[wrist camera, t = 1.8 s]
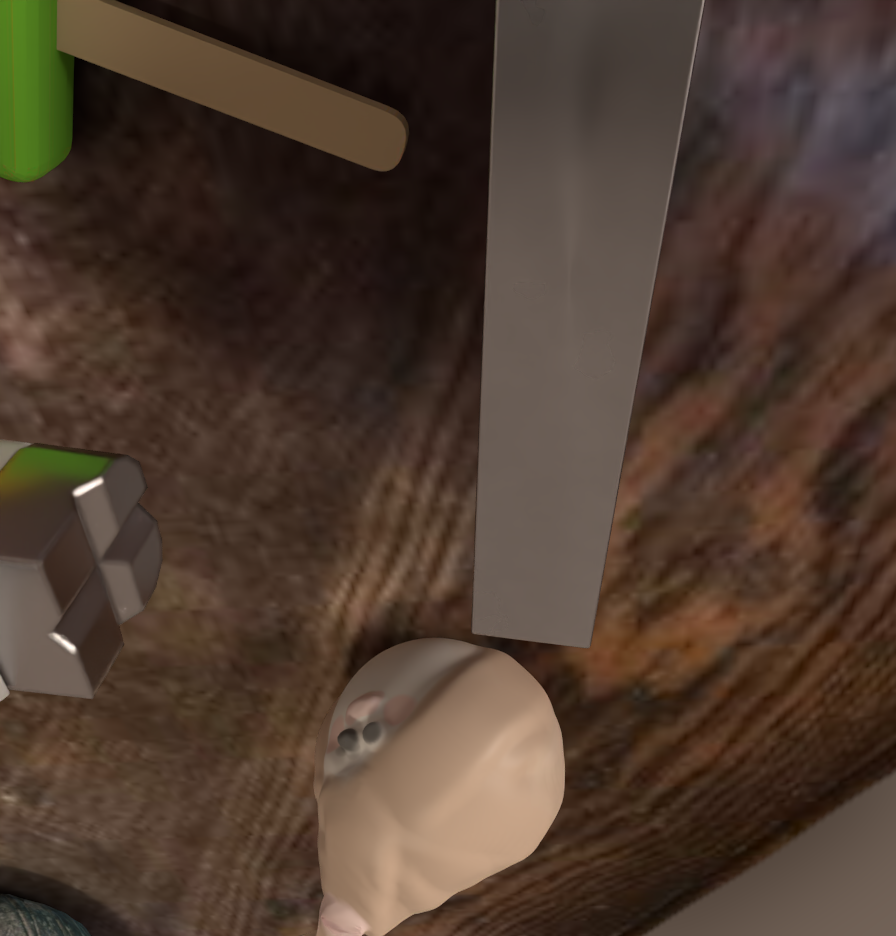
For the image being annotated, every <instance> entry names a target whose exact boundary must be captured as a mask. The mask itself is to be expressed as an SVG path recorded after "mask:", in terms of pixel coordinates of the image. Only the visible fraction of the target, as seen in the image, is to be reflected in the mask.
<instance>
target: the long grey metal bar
mask: <svg viewBox="0 0 896 936" xmlns="http://www.w3.org/2000/svg"><path fill="white" fill-rule="evenodd" d="M705 1H706V0H495V19H494V45H493V71H492V97H491V123H490V149H489V175H488V201H487V227H486V253H485V279H484V305H483V331H482V357H481V383H480V409H479V435H478V461H477V487H476V513H475V539H474V565H473V591H472V618H471V632H472V633H473V634H478V635H486V636H494V637H502V638H510V639H518V640H526V641H534V642H542V643H549V644H557V645H565V646H573V647H581V648H589V647H590V646H591V641H592V635H593V629H594V624H595V618H596V612H597V607H598V601H599V596H600V590H601V584H602V579H603V573H604V568H605V562H606V556H607V551H608V545H609V540H610V534H611V528H612V523H613V517H614V511H615V506H616V500H617V495H618V489H619V483H620V478H621V472H622V467H623V461H624V455H625V450H626V444H627V439H628V433H629V427H630V422H631V416H632V410H633V405H634V399H635V394H636V388H637V382H638V377H639V371H640V366H641V360H642V354H643V349H644V343H645V338H646V332H647V326H648V321H649V315H650V309H651V304H652V298H653V293H654V287H655V281H656V276H657V270H658V265H659V259H660V253H661V248H662V242H663V237H664V231H665V225H666V220H667V214H668V208H669V203H670V197H671V192H672V186H673V180H674V175H675V169H676V164H677V158H678V152H679V147H680V141H681V136H682V130H683V124H684V119H685V113H686V107H687V102H688V96H689V91H690V85H691V79H692V74H693V68H694V63H695V57H696V51H697V46H698V40H699V35H700V29H701V23H702V18H703V12H704V6H705Z"/></svg>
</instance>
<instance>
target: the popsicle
mask: <svg viewBox="0 0 896 936" xmlns="http://www.w3.org/2000/svg"><path fill="white" fill-rule="evenodd" d="M74 56H75V57H78V58H81V59H83V60H86V61H88V62H91V63H94V64H96V65H99V66H102V67H104V68H107V69H109V70H112V71H115V72H117V73H120V74H123V75H125V76H128V77H131V78H133V79H136V80H138V81H141V82H144V83H146V84H149V85H152V86H154V87H157V88H159V89H162V90H165V91H167V92H170V93H173V94H175V95H178V96H181V97H183V98H186V99H188V100H191V101H194V102H196V103H199V104H202V105H204V106H207V107H210V108H212V109H215V110H217V111H220V112H223V113H225V114H228V115H231V116H233V117H236V118H238V119H241V120H244V121H246V122H249V123H252V124H254V125H257V126H260V127H262V128H265V129H267V130H270V131H273V132H275V133H278V134H281V135H283V136H286V137H288V138H291V139H294V140H296V141H299V142H302V143H304V144H307V145H310V146H312V147H315V148H317V149H320V150H323V151H325V152H328V153H331V154H333V155H336V156H338V157H341V158H344V159H346V160H349V161H352V162H354V163H357V164H360V165H362V166H365V167H367V168H370V169H373V170H377V171H389V170H391V169H393V168H395V166H396V165H397V164H398V163H399V161H400V160H401V158H402V156H403V153H404V151H405V149H406V145H407V142H408V136H409V127H408V123H407V121H406V119H405V117H404V116H403V115H402V114H401V113H400V112H399V111H397V110H395V109H393V108H391V107H389V106H387V105H384V104H382V103H379V102H376V101H374V100H371V99H369V98H366V97H363V96H361V95H358V94H356V93H353V92H351V91H348V90H345V89H343V88H340V87H338V86H335V85H332V84H330V83H327V82H325V81H322V80H320V79H317V78H314V77H312V76H309V75H307V74H304V73H301V72H299V71H296V70H294V69H291V68H289V67H286V66H283V65H281V64H278V63H276V62H273V61H270V60H268V59H265V58H263V57H260V56H258V55H255V54H252V53H250V52H247V51H245V50H242V49H239V48H237V47H234V46H232V45H229V44H227V43H224V42H221V41H219V40H216V39H214V38H211V37H208V36H206V35H203V34H201V33H198V32H196V31H193V30H190V29H188V28H185V27H183V26H180V25H177V24H175V23H172V22H170V21H167V20H165V19H162V18H159V17H157V16H154V15H152V14H149V13H146V12H144V11H141V10H139V9H136V8H134V7H131V6H128V5H126V4H123V3H121V2H118V1H115V0H0V177H2V178H5V179H8V180H11V181H16V182H31V181H34V180H36V179H38V178H41V177H43V176H44V175H45V174H47V173H48V172H50V171H51V170H52V169H54V168H55V167H56V166H58V165H59V164H60V163H61V162H62V161H64V160H65V158H66V157H67V155H68V154H69V152H70V149H71V145H72V130H73V89H74Z"/></svg>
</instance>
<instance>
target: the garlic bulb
mask: <svg viewBox="0 0 896 936" xmlns="http://www.w3.org/2000/svg"><path fill="white" fill-rule="evenodd" d="M564 784H565V763H564V754H563V742H562V734H561V730H560V727H559V724H558V721H557V718H556V716H555V714H554V711H553V708H552V705H551V702H550V700H549V698H548V696H547V694H546V692H545V691H544V689H543V688H542V686H541V685H540V684H539V683H538V682H537V681H536V679H535V678H534V677H533V676H532V675H531V674H530V673H529V672H528V671H527V670H525V669H524V668H523V667H522V666H521V665H520V664H519V663H518V662H517V661H515V660H514V659H513V658H512V657H510V656H509V655H507V654H506V653H504V652H501V651H499V650H495V649H492V648H487V647H482V646H478V645H473V644H470V643H467V642H464V641H460V640H455V639H448V638H422V639H416V640H411V641H407V642H404V643H401V644H398V645H396V646H393V647H391V648H389V649H387V650H385V651H383V652H381V653H380V654H378V655H376V656H375V657H373V658H372V659H371V660H370V661H368V662H367V663H366V664H365V665H364V666H363V667H362V668H361V669H360V670H359V671H358V672H357V673H356V674H355V675H354V676H353V678H352V679H351V680H350V682H349V683H348V684H347V686H346V688H345V689H344V691H343V693H342V694H341V695H340V696H339V697H338V699H337V700H336V701H335V702H334V704H333V705H332V707H331V708H330V710H329V712H328V713H327V715H326V717H325V719H324V721H323V723H322V725H321V727H320V730H319V733H318V737H317V741H316V746H315V776H314V792H315V797H316V800H317V803H318V819H319V832H318V852H319V863H320V872H321V884H322V890H323V894H324V898H323V900H322V903H321V907H320V913H319V924H318V930H316V931H313V932H309V933H306V934H303V935H300V936H362V935H363V934H366V935H368V936H383V935H384V934H386V933H387V932H389V931H390V930H391V929H393V928H394V927H395V926H397V925H398V924H399V923H400V922H402V921H403V920H405V919H406V918H408V917H410V916H411V915H413V914H418V913H421V912H425V911H429V910H432V909H435V908H437V907H438V906H440V905H441V904H443V903H444V902H445V901H446V900H447V899H448V898H450V897H451V896H452V895H454V894H455V893H457V892H459V891H462V890H464V889H467V888H469V887H471V886H473V885H475V884H477V883H478V882H480V881H481V880H483V879H484V878H486V877H488V876H491V875H493V874H495V873H497V872H499V871H501V870H503V869H505V868H507V867H509V866H511V865H513V864H515V863H517V862H519V861H521V860H523V859H525V858H526V857H527V856H529V855H530V854H531V853H532V852H533V851H534V850H535V849H536V848H537V846H538V845H539V843H540V841H541V840H542V838H543V837H544V836H545V834H546V832H547V831H548V829H549V827H550V826H551V824H552V822H553V821H554V819H555V817H556V815H557V813H558V811H559V809H560V806H561V803H562V800H563V795H564Z"/></svg>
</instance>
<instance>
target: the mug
mask: <svg viewBox="0 0 896 936" xmlns="http://www.w3.org/2000/svg"><path fill="white" fill-rule="evenodd" d="M0 936H91V934H90V933H89V932H88V930H87V929H86V928H85V927H84V926H83V925H82V924H81V923H80V922H78V921H76V920H74V919H73V918H71V917H70V916H69V915H67V914H66V913H64V912H62V911H59V910H57V909H54V908H52V907H49V906H47V905H45V904H42V903H38V902H34V901H30V900H27V899H23V898H20V897H17V896H13V895H10V894H0Z"/></svg>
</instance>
